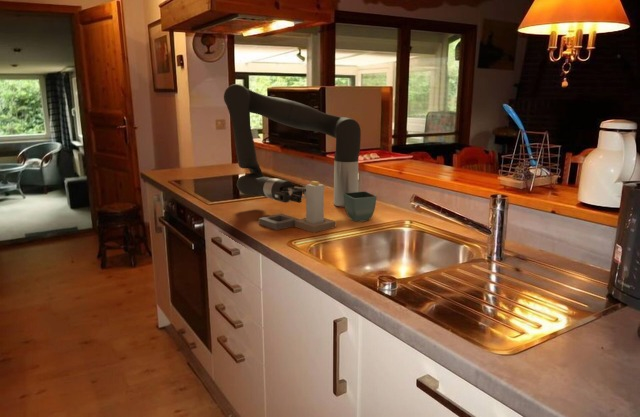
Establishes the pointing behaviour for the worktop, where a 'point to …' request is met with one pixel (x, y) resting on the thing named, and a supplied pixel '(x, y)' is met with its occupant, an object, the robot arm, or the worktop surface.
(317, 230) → the socket
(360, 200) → the flower pot
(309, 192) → the plug
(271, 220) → the socket
